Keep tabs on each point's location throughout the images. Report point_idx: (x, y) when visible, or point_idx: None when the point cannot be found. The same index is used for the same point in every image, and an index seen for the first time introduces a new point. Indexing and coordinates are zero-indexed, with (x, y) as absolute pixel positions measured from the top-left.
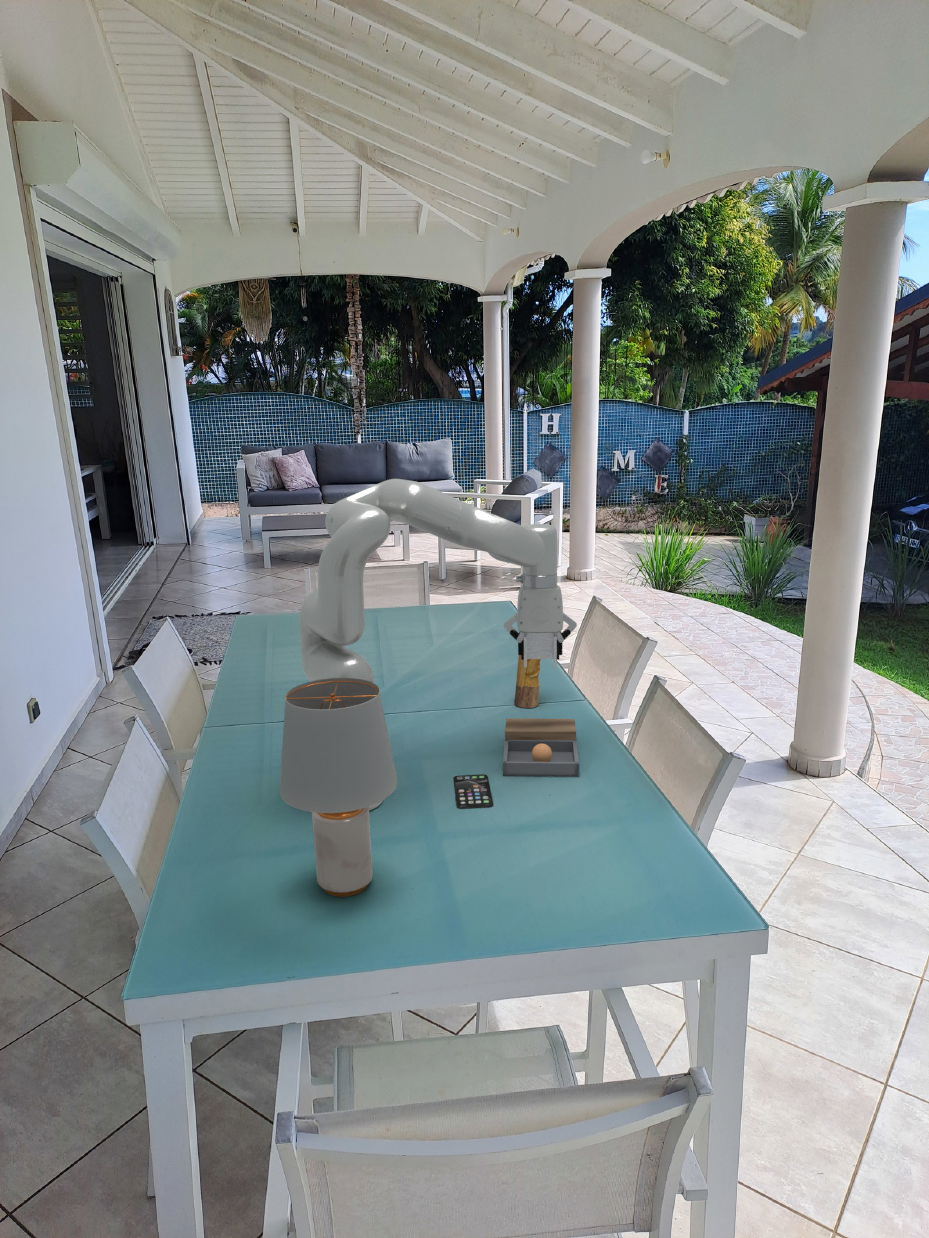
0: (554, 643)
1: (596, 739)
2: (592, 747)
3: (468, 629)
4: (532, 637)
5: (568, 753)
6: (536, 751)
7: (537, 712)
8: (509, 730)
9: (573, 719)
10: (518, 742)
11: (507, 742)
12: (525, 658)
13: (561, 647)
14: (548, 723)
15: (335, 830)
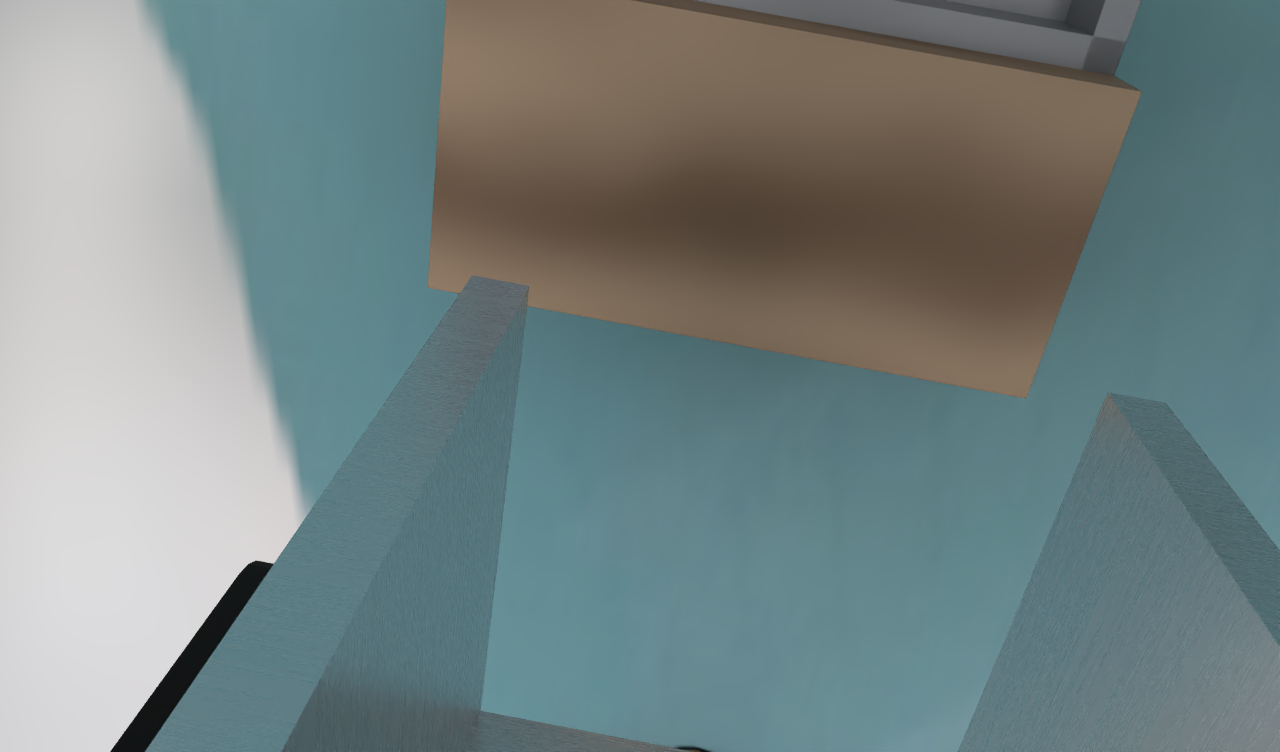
0: (313, 643)
1: (313, 189)
2: (356, 40)
3: None
4: None
5: None
6: None
7: (658, 687)
8: (1087, 110)
9: (439, 272)
10: (996, 19)
11: (1113, 2)
12: (1217, 506)
13: (189, 681)
14: (674, 222)
15: None
